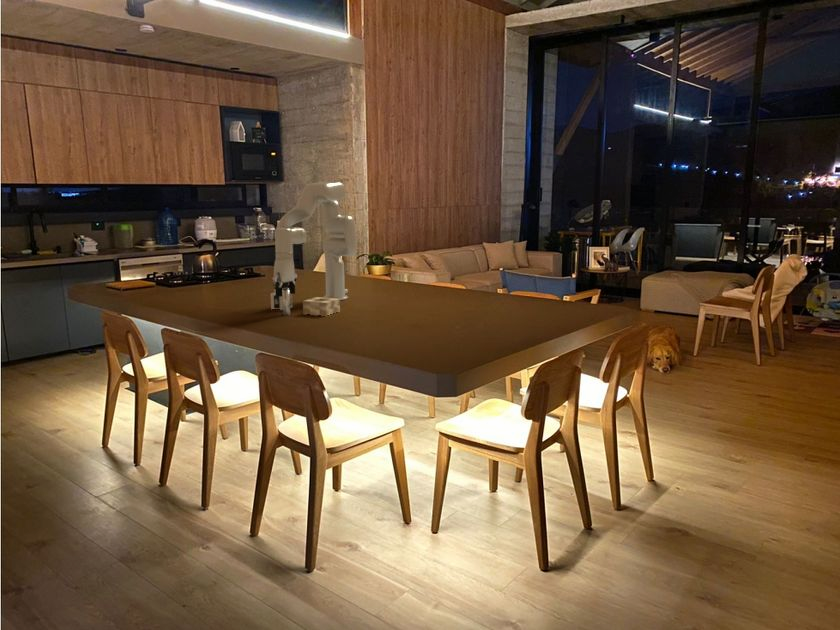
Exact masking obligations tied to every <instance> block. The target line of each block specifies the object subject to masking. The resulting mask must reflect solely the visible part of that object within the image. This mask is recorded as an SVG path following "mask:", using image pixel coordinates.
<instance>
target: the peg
mask: <svg viewBox="0 0 840 630" xmlns="http://www.w3.org/2000/svg"><path fill="white" fill-rule="evenodd" d="M282 289H283V310H282V311H283V312H282V313H283V314H284V315H283V316H291V308H290V292H289V288H282Z"/></svg>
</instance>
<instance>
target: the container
mask: <svg viewBox="0 0 840 630" xmlns="http://www.w3.org/2000/svg"><path fill="white" fill-rule="evenodd" d="M279 284H280V283H279ZM288 285H289V283H288V282H285V283H283V284H282V286H281V287H282V288H288ZM273 288H274V289H273V291H274V292H270V309H271V310H272V309H280V310H279V311H283V289H282V297H279V296H276V292H275V287H274V286H273ZM293 300H294V299H293V294H290V309H291V308H293V307H294V304H293Z"/></svg>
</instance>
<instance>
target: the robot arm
mask: <svg viewBox="0 0 840 630" xmlns="http://www.w3.org/2000/svg"><path fill="white" fill-rule="evenodd" d="M345 196H346V186H345V185H344V184H343V183H342V182H340V181H337V182H336V181H317V182H313V183H307V184H306V185H305V186H304V187H303V189H302V192H301V194H300V196H299V198H298V201H297V203H296V205H295V207H293V208H291V210H289V211H288V212H286V213H285V214H283V216H282V217H281V218H280V219H279V221H278V223H277V225H276V228H275V231H274V239H275V240H274V242H275V246H274V247H275V260H274V263H273V265H274V266H273V277H272V283H273V288H274V287H275V291H274V292H276V296H279V297H282V287H281V286H282V284H283V283H285V282H288V288H289V292H290V294H292V295H294V294H296V282H297V278H298V273H296V270H295V262H294V245H302V244H303V243H305V242H306V240H307V238H308V234H307V231H306V230H305V228H303V227H299V226H293V225H295V224H297V223H300V222H303V221H306V220H308V219H309V218H312V216H313V215H314V212H315V210H316V208H317V205H318V203H319V204H320V205H321V211H322V219H323V220H322V221H323V229H324V231H325V233H326V234H329V235H334V236H327V237H326V238H325V239H324V240H323V243H322V251H323V254H324V255H323V256H324V264H325V270H324V271H325V295H323V296H322V297H323V298H336V299H340V301H344V300H347V299H348V298H349V296H348V295H346V294H347V293H348V292H349V290H348V288H345V287H346V286H345V263H344V261H343V259H342V257H353V256H356V254H357V252H358V239H357V228H356V227H357V225H356V221H355V219H354V218H353V216H351V215H341V211H340V210H341V209H340V205H339V202H338V201H341V200H342V199H344V197H345ZM335 235H337V236H335ZM338 235H339V236H338ZM340 235H341V236H340ZM279 283H280V284H279Z"/></svg>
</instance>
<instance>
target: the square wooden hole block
mask: <svg viewBox="0 0 840 630" xmlns="http://www.w3.org/2000/svg"><path fill="white" fill-rule="evenodd" d="M336 312H338V313H341V300H340V299H336V298H323V296H322V297H321V296H315V297H312V298H308V299H305V300H302V313H303V315H307V314H310V315H309V316H318V315H321V317H328V316H327V315H329V316H331V315H330V314H332V315H334V314H333V313H335V314H337V313H336Z"/></svg>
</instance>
